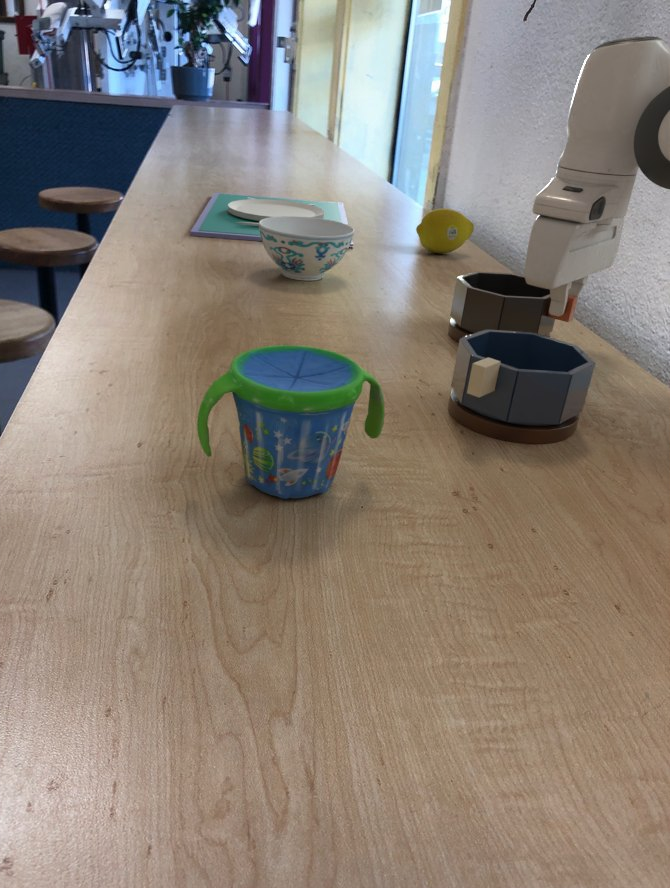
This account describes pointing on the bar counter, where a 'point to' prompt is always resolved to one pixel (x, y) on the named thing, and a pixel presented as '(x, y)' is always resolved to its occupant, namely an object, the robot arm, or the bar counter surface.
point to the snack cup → (293, 415)
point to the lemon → (444, 230)
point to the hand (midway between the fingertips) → (561, 312)
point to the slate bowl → (521, 377)
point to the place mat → (257, 214)
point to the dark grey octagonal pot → (504, 304)
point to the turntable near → (510, 426)
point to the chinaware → (305, 244)
